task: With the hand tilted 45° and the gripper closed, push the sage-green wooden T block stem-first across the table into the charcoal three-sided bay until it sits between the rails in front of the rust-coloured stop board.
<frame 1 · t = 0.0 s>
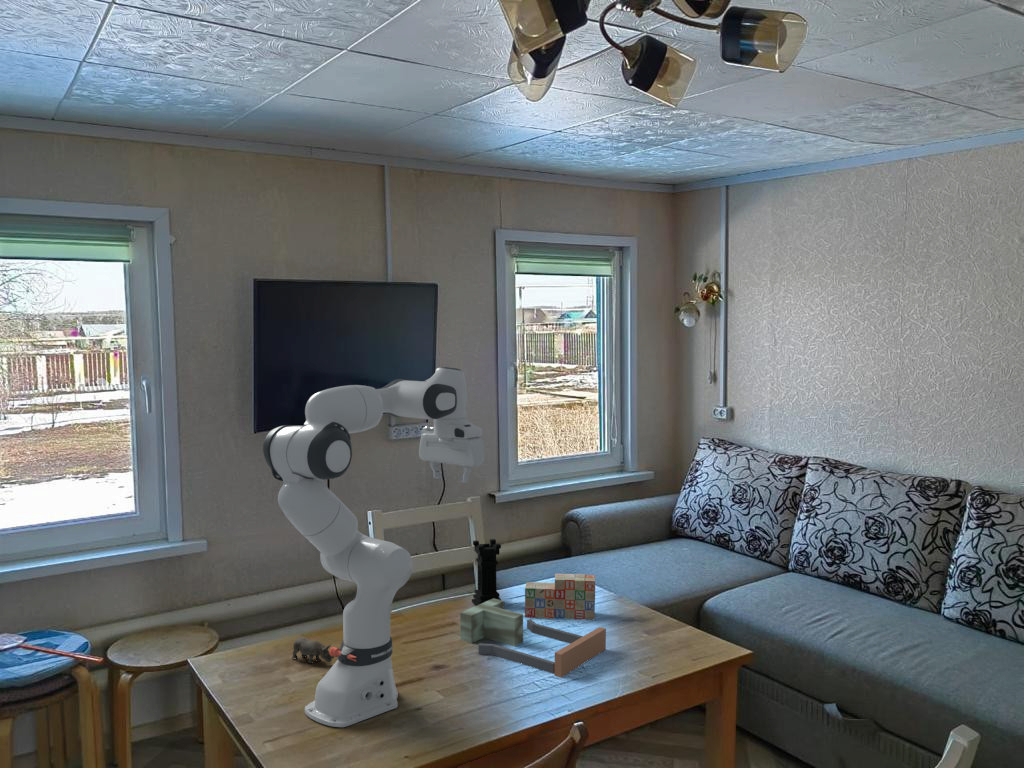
hand: (450, 480, 219), 48 cm above the table, tool pointing down, fingers open, 8 cm apart
stack of blocks: (560, 616, 253), on the table
T block: (497, 638, 235), on the table
bay: (543, 651, 225), on the table
rhino figurine: (314, 662, 219), on the table
chess piece: (487, 604, 263), on the table
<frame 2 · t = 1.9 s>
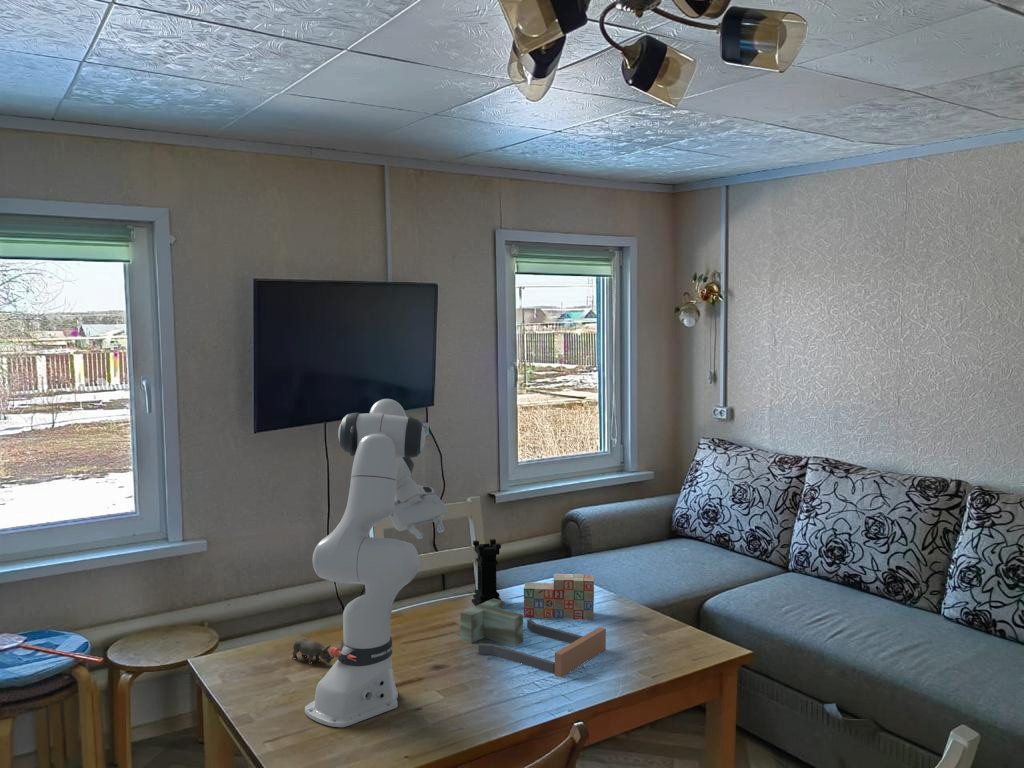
hand: (432, 534, 248), 26 cm above the table, tool tilted 45°, fingers open, 8 cm apart
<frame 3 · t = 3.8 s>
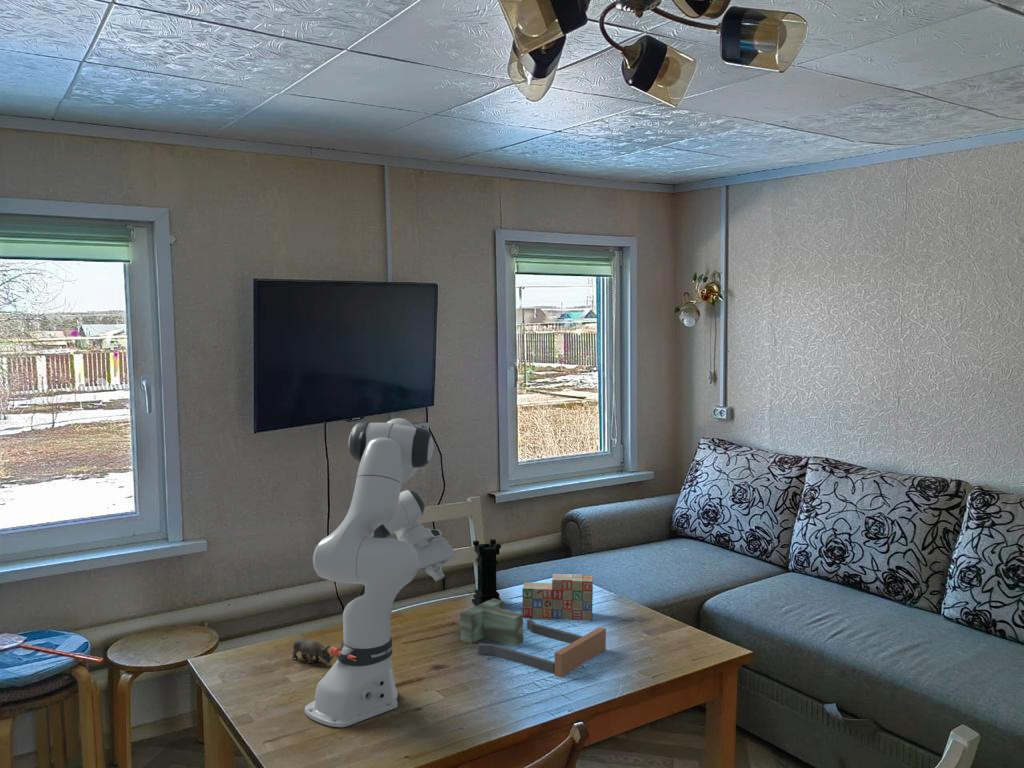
hand: (440, 578, 247), 13 cm above the table, tool tilted 45°, fingers closed
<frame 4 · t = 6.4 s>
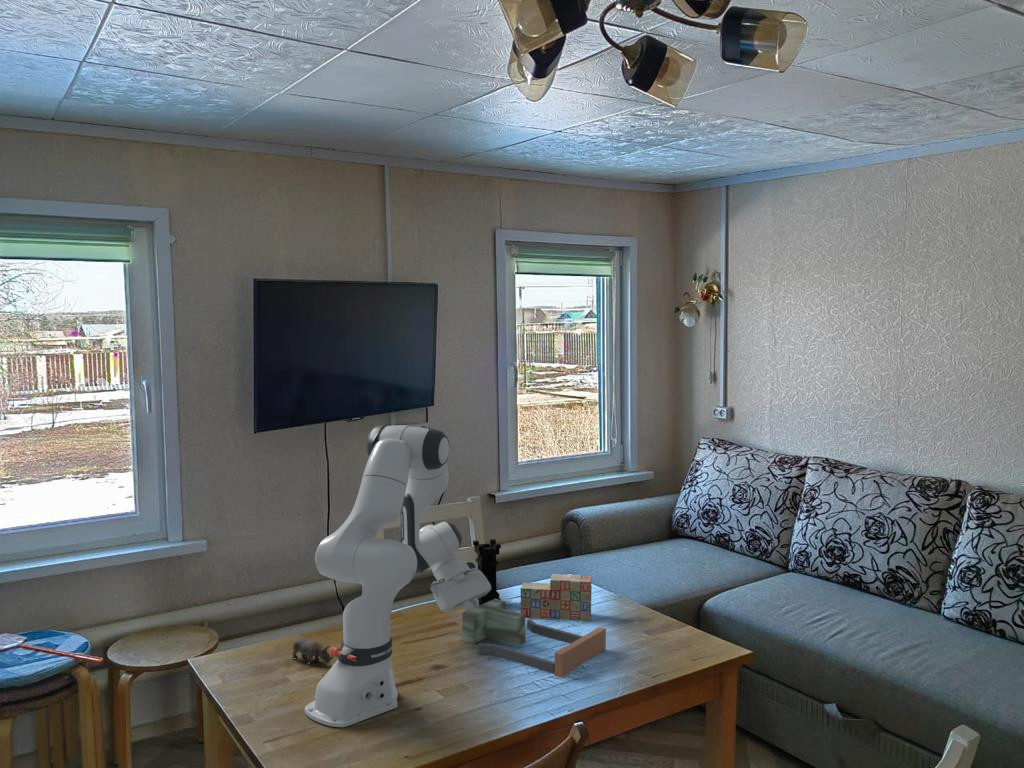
hand: (477, 614, 239), 5 cm above the table, tool tilted 45°, fingers closed, pressing on T block
T block: (499, 638, 235), on the table, touching gripper
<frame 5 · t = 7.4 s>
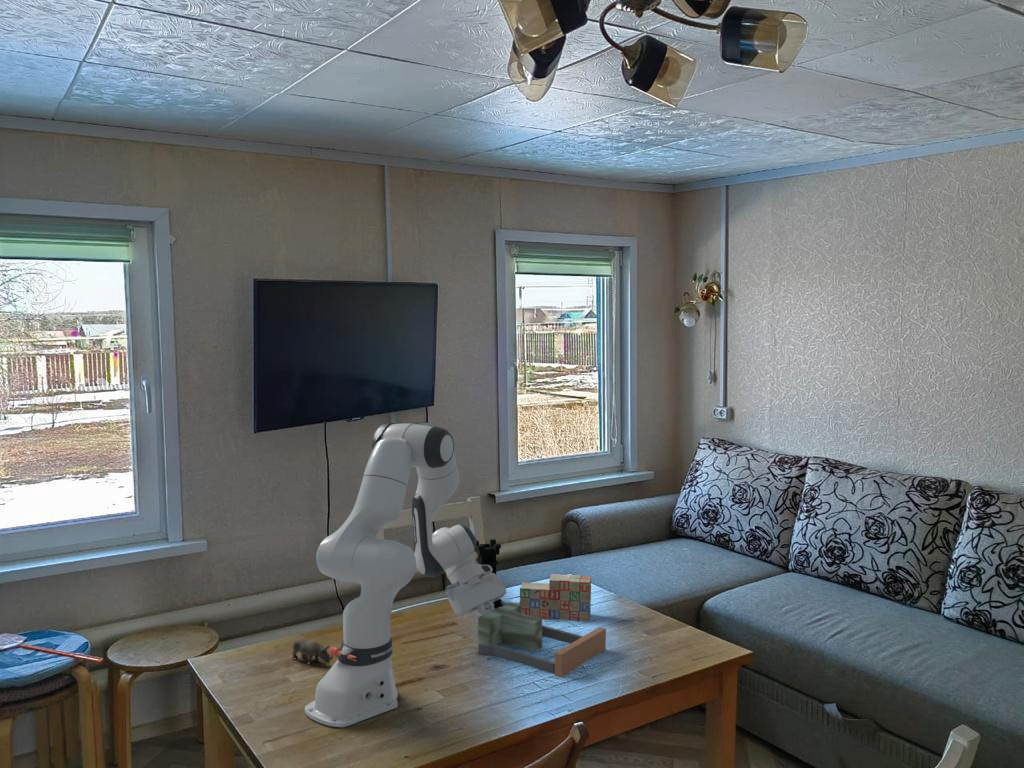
hand: (493, 618, 236), 5 cm above the table, tool tilted 45°, fingers closed, pressing on T block
T block: (515, 643, 231), on the table, touching gripper
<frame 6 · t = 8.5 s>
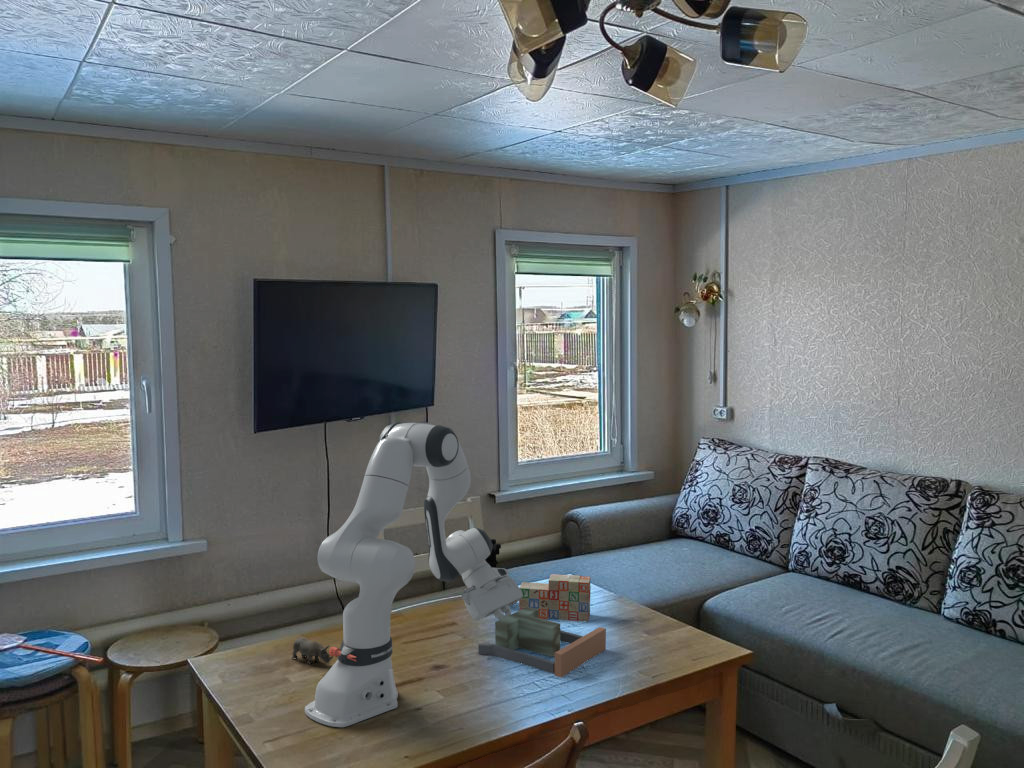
hand: (509, 622, 232), 5 cm above the table, tool tilted 45°, fingers closed, pressing on T block
T block: (533, 648, 228), on the table, touching gripper
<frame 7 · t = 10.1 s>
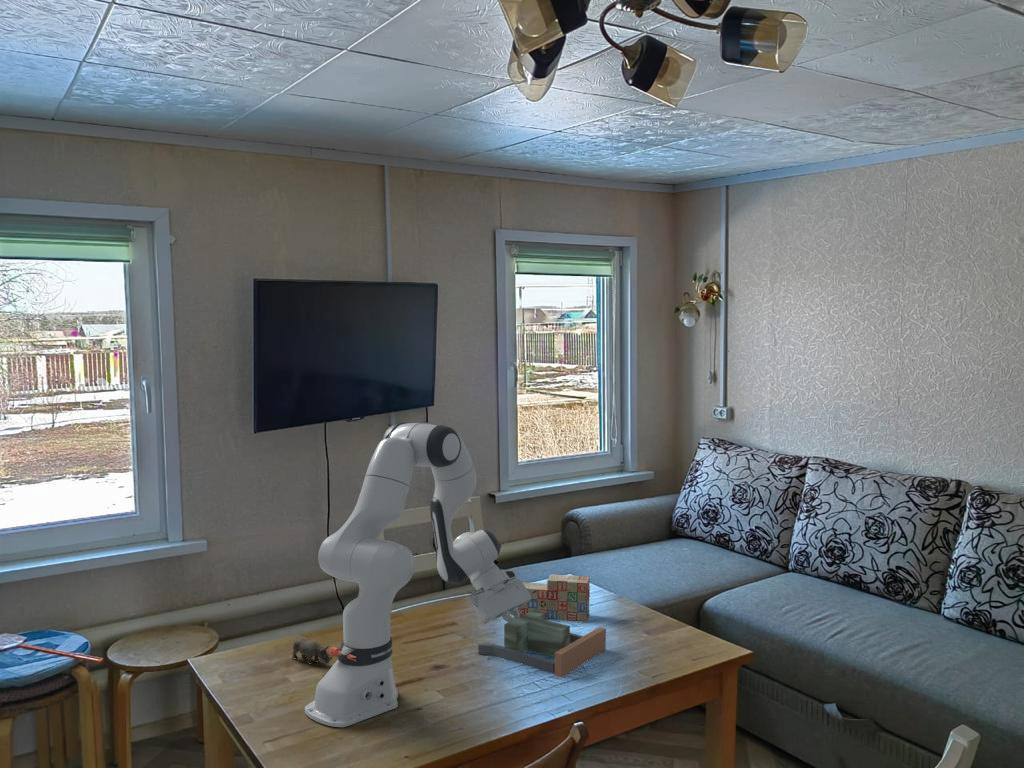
hand: (518, 625, 230), 5 cm above the table, tool tilted 45°, fingers closed, pressing on T block
T block: (542, 650, 226), on the table, touching gripper
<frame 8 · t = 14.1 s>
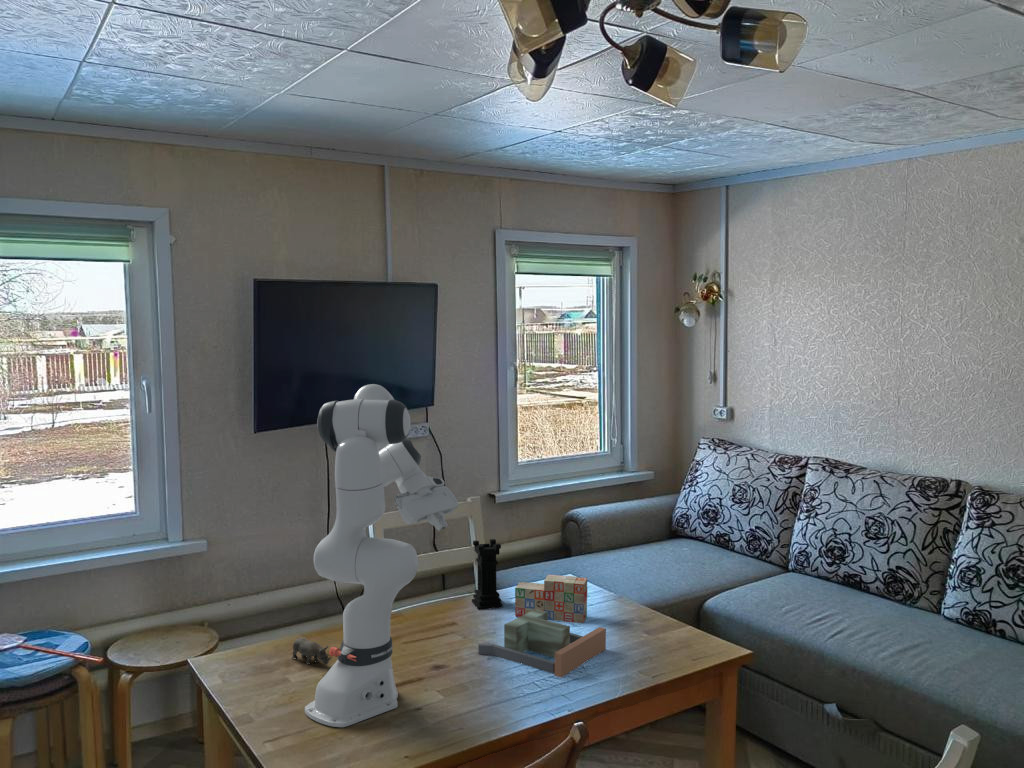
hand: (443, 528, 234), 31 cm above the table, tool tilted 45°, fingers closed
T block: (542, 650, 226), on the table
at the end: T block 0.5 cm from the target spot, on the table; T block tilted 0° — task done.
